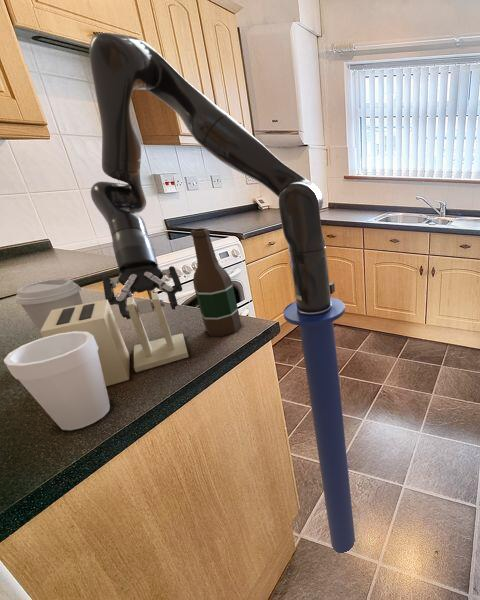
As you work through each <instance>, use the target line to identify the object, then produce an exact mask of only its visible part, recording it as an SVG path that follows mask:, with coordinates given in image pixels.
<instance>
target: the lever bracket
mask: <svg viewBox="0 0 480 600" xmlns="http://www.w3.org/2000/svg"><path fill="white" fill-rule="evenodd" d="M158 293H159V292H157V291H156V292H151V293H150V294H151V302H153V304H154V307H155V308H154V311H155V313H156V316H157V319H158V321H159V325H160V328H161V330H162V331H161V332H162V333H163V337H162V338H159V339H154V340H149V337H148V334H147V331H146V329H145V326H144V322H143V321H142V318H141V314H140V313H139V312H138V309H137V304H136V302H135V297H134V296H132V297H129V298H127V307H125V308H126V312H127V314H130V316H131V319H130V320H131V321H132V324H133V327H134V329H135V333H136V334H137V336H138V340H139V342H140V343H139V344H135V345H133V370H134V372H135V373H139V372H142V371H146V370H149V369H153V368H156V367H159V366H163V365H166V364H170V363H173V362H176V361H180V360H183V359H186V358H189V357H190V356H189V353H188V349H187V345H186V341H185V338H184V334H183V333H178V334H174V335H172V334H171V330H170V327H169V324H168V321H167V318H166V315H165V312H164V307H165V306H164V304H165V302H164V303H163V301H164V300H163V299H160V297H159V294H158ZM163 306H164V307H163Z"/></svg>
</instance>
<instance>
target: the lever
mask: <svg viewBox="0 0 480 600" xmlns="http://www.w3.org/2000/svg"><path fill="white" fill-rule="evenodd" d="M135 303H136V306H137V309H138V312H139V314H140V315H142V314H147V313H151V312H155V307H154V304H153V301H152V299H145V300H140V301H136V302H135ZM163 303H164V306H163V307H162V308H164V307H166V305H165V301H164V300H163Z"/></svg>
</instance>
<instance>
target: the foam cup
mask: <svg viewBox="0 0 480 600" xmlns="http://www.w3.org/2000/svg"><path fill="white" fill-rule="evenodd" d="M3 362H4V364H5V366H6V368H7V369H8V371H9V373H10V374H11V376H12V377H13V378H14V379H15V380H18V381H19V382H20V383H21V384H22V386H23V387H24V388H25V389H26V390H27V391H28V392H29V394H30V395H31V396H32V397H33V398H34V400H35V401H36V402H37V403H38V404H39V405H40V406H41V408H42V409H43V410H44V411H45V412H46V414H47V415H48V416H49V417H50V418H51V420H53V421H54V423H56V425H57V426H58V427H59V429H61V431H75V430H78V429H83V428H85V427H88V426H90V425H92V424H94V423H96V422H97V421H100V419H103V418H104V417H105V416H106V415H107V414H108V413H109V411H110V410H111V409H110V408H111V405H110V397H109V395H108V390H107V386H106V385H105V381H104V377H103V372H102V368H101V364H100V359H99V355H98V346H97V343H96V341H95V339H94V336H93V335H92V334H90V333H89V332H81V331H73V332H66V333H60V334H55V335H52V336H48V337H44V338H43V337H40V338H38V339H35V340H33V341H30V342H28V343H25V344H23V345H21V346H19V347H17V348H15V349H14V350H12V351H11V352H8V354H7V355H6V356H5V358H4V359H3Z"/></svg>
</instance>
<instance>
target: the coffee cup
mask: <svg viewBox="0 0 480 600" xmlns="http://www.w3.org/2000/svg"><path fill="white" fill-rule="evenodd" d="M81 290H82V287H81V286H80V285H79V284H77V283H76V282H74V281H73V280H72V278H65V277H59V278H51V279H44V280H41V281H36V282H31V283H28V284H25V285H22V286H21V287H19V288H17V290H16V295H15V298H14V299H15V300H14V301H15V303H16V304H18V305H21V307H22V308H23V310H24V311H25V312H26V314H27V316H28V317H29V319H30V320H31V323H32V324H33V325H34V326H35V328H36V329H37V330H38V333H40V331H41V329H42V327H43V325H44V323H45V321H46V319H47V318H48V316H49V314H50V312H51V310H54V309H60V308H65V307H70V306H75V305H81V304H84V303H83V300H82V297H81V293H80V291H81ZM40 335H41V333H40Z"/></svg>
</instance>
